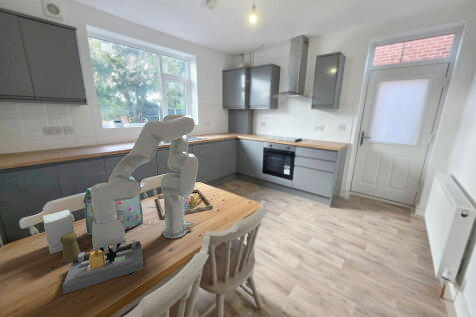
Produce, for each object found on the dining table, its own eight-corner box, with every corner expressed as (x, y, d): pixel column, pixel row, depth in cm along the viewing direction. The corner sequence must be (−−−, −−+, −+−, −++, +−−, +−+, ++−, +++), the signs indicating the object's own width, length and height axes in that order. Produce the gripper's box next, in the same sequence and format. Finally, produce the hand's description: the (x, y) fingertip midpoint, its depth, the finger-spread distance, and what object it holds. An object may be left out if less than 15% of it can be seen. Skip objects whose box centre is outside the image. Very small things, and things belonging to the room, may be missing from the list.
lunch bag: (129, 215, 115) (125, 172, 110) (146, 223, 107) (142, 177, 102) (84, 234, 96) (76, 183, 90) (100, 245, 88) (92, 190, 82)
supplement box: (77, 245, 88) (72, 215, 85) (50, 255, 81) (43, 223, 78) (73, 237, 94) (68, 208, 91) (48, 245, 87) (41, 215, 84)
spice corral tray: (198, 192, 153) (198, 189, 152) (212, 209, 125) (212, 205, 124) (156, 199, 138) (156, 195, 137) (162, 220, 110) (162, 215, 110)
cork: (79, 251, 84) (75, 228, 82) (83, 257, 80) (79, 234, 78) (61, 258, 80) (56, 234, 77) (64, 265, 76) (59, 241, 74)
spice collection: (206, 198, 143) (206, 186, 141) (197, 213, 120) (196, 200, 118) (174, 196, 145) (173, 185, 143) (159, 211, 122) (158, 197, 120)
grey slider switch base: (142, 248, 87) (141, 238, 85) (143, 268, 75) (142, 256, 74) (74, 266, 75) (72, 254, 74) (63, 294, 64) (61, 280, 63)
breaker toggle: (105, 260, 75) (103, 247, 74) (104, 267, 71) (102, 253, 70) (92, 263, 73) (90, 250, 72) (90, 271, 69) (88, 257, 68)
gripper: (130, 208, 77) (134, 248, 81) (83, 216, 70) (90, 259, 74) (130, 216, 71) (134, 259, 74) (78, 226, 63) (86, 273, 67)
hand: (112, 259), depth 74 cm, fingers closed
